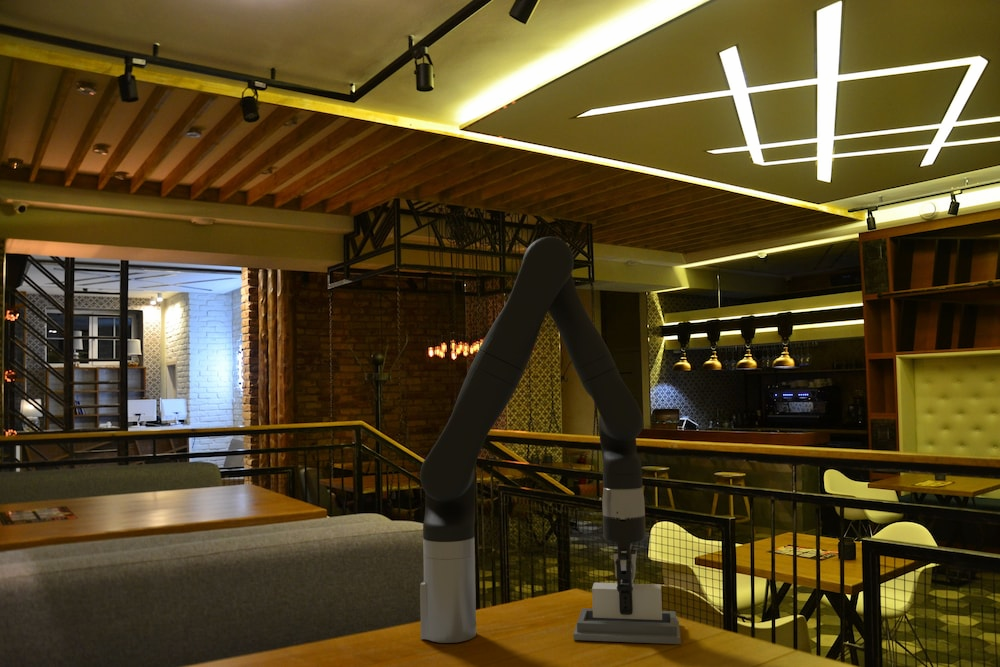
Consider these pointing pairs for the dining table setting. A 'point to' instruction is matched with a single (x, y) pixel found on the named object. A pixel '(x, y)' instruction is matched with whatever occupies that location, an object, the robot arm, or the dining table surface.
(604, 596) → the off-white tapered block
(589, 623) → the cradle
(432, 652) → the dining table surface
